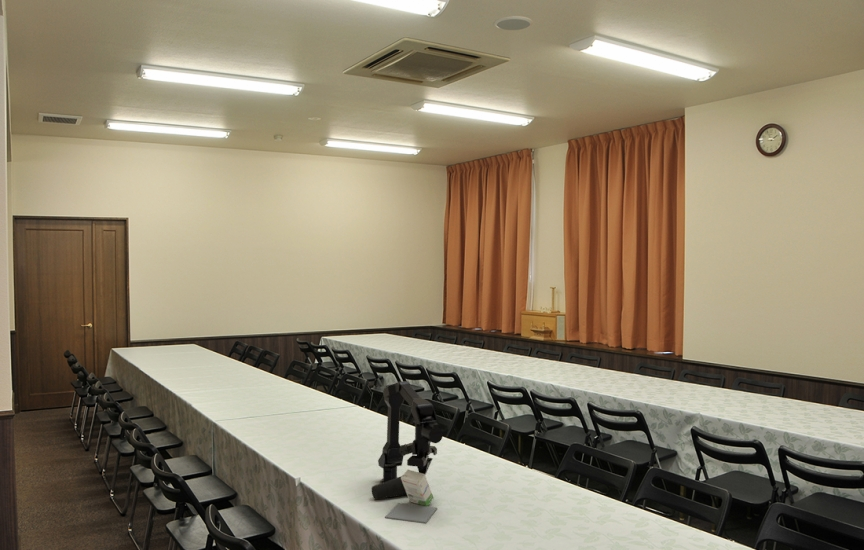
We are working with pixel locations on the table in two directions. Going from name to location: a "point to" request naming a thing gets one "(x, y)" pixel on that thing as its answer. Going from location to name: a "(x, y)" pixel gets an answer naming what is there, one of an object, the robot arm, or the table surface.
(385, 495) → the drinking cup
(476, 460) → the table surface
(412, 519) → the felt mat
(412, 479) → the ink box
